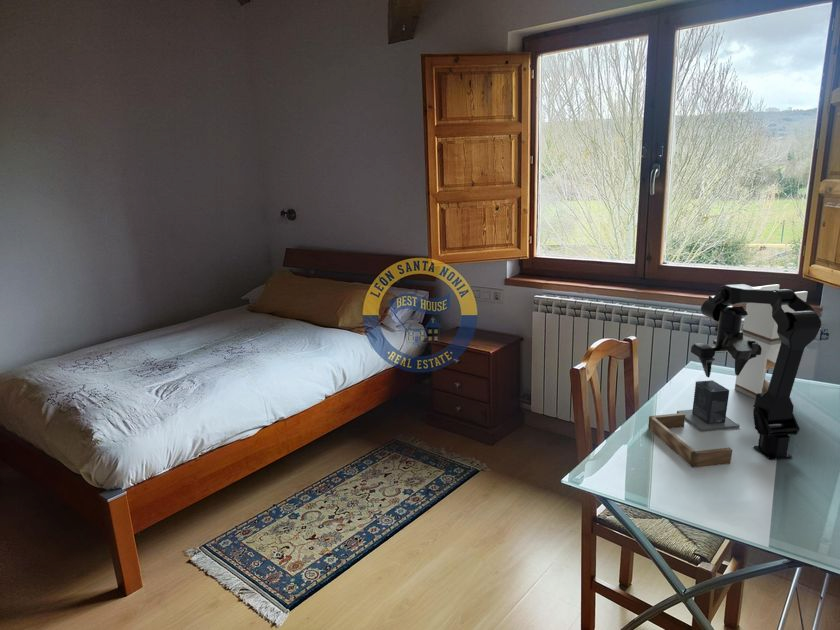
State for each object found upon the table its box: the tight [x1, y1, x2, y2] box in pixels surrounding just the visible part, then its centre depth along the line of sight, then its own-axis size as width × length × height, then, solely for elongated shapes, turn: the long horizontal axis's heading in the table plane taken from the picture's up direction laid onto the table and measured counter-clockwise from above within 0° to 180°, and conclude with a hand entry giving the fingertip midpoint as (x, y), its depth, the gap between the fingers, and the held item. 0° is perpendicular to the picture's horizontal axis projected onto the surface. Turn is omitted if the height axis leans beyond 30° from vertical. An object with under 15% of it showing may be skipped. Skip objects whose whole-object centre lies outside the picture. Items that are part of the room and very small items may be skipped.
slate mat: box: [676, 408, 740, 433], centre depth 166 cm, size 12×12×1 cm
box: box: [692, 379, 730, 424], centre depth 165 cm, size 8×6×11 cm
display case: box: [734, 283, 809, 400], centre depth 179 cm, size 11×11×35 cm
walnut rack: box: [647, 412, 733, 469], centre depth 153 cm, size 21×10×4 cm, turn 8°
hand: (722, 375), depth 167 cm, fingers open, 9 cm apart
